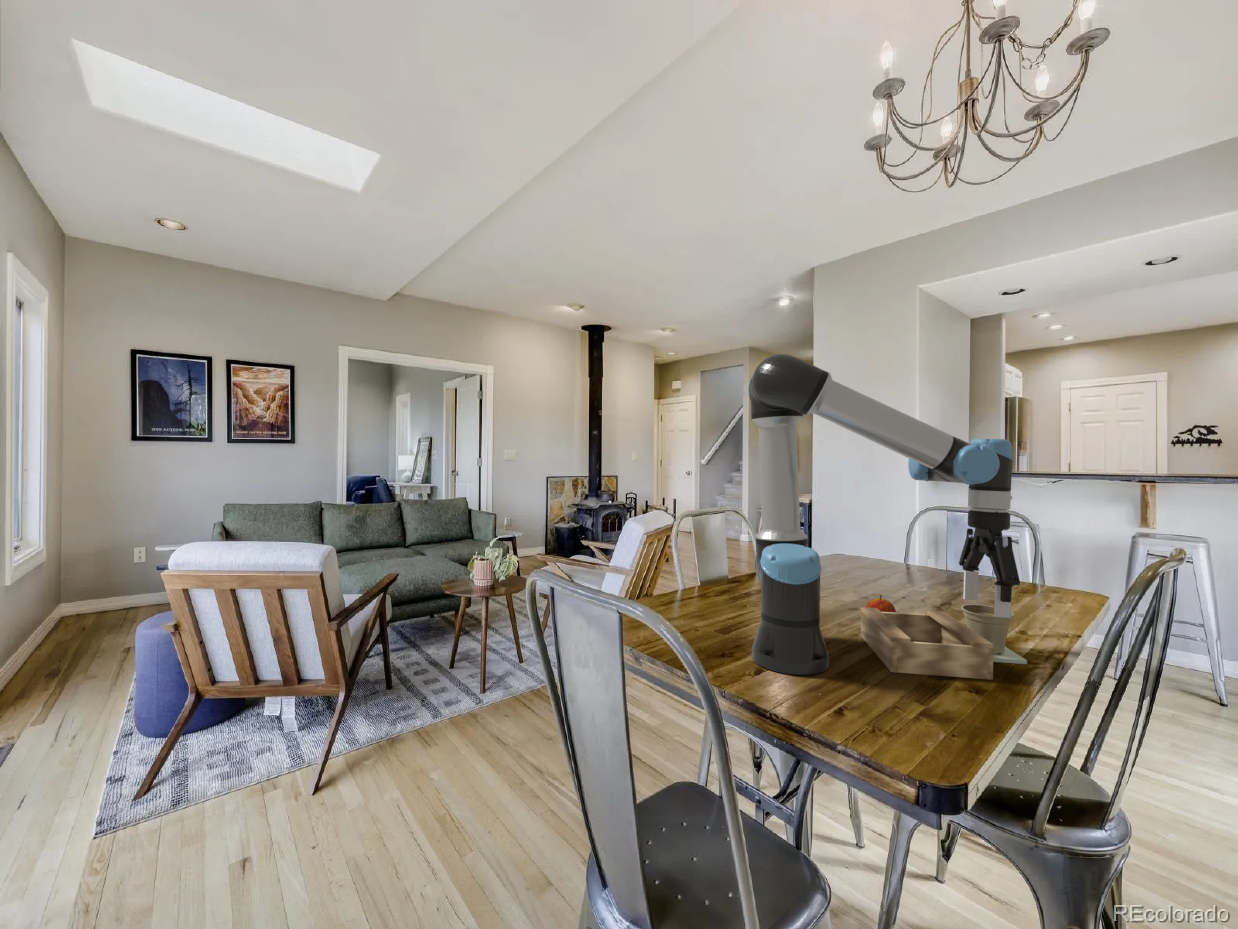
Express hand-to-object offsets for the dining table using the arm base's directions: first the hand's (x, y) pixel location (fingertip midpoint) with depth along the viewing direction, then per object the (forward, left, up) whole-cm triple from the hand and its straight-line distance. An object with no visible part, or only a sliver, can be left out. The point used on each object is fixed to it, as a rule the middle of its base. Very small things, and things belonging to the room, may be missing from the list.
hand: (985, 607), depth 113 cm
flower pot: (0, 0, -9) cm, 9 cm away
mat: (0, 0, -10) cm, 10 cm away
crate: (-15, -4, -10) cm, 18 cm away
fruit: (-17, +16, -10) cm, 25 cm away
